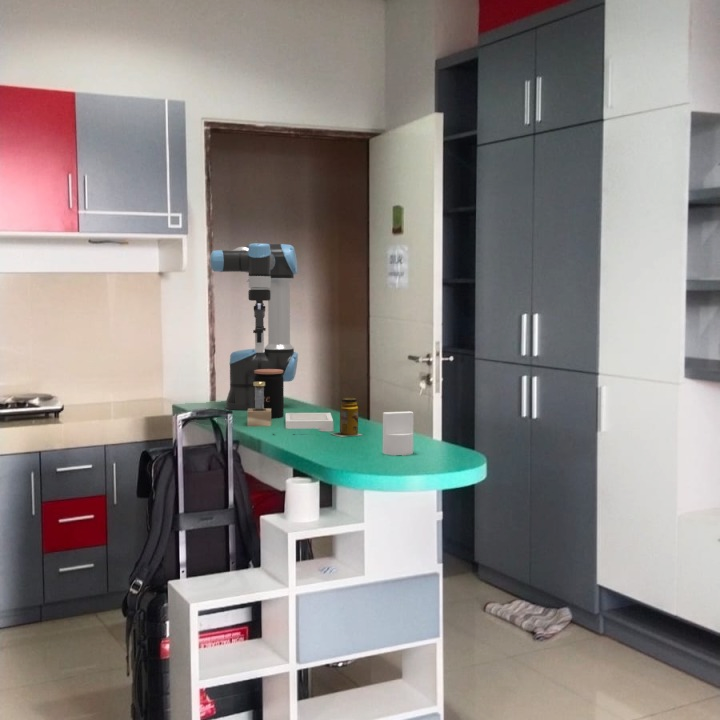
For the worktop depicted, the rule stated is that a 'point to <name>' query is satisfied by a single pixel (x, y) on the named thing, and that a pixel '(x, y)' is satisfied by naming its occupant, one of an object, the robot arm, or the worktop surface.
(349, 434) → the condiment
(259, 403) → the steel pin
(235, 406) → the robot arm
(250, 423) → the block
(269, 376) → the coffee jar
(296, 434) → the worktop surface
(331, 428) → the tray
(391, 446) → the base with upright slab
